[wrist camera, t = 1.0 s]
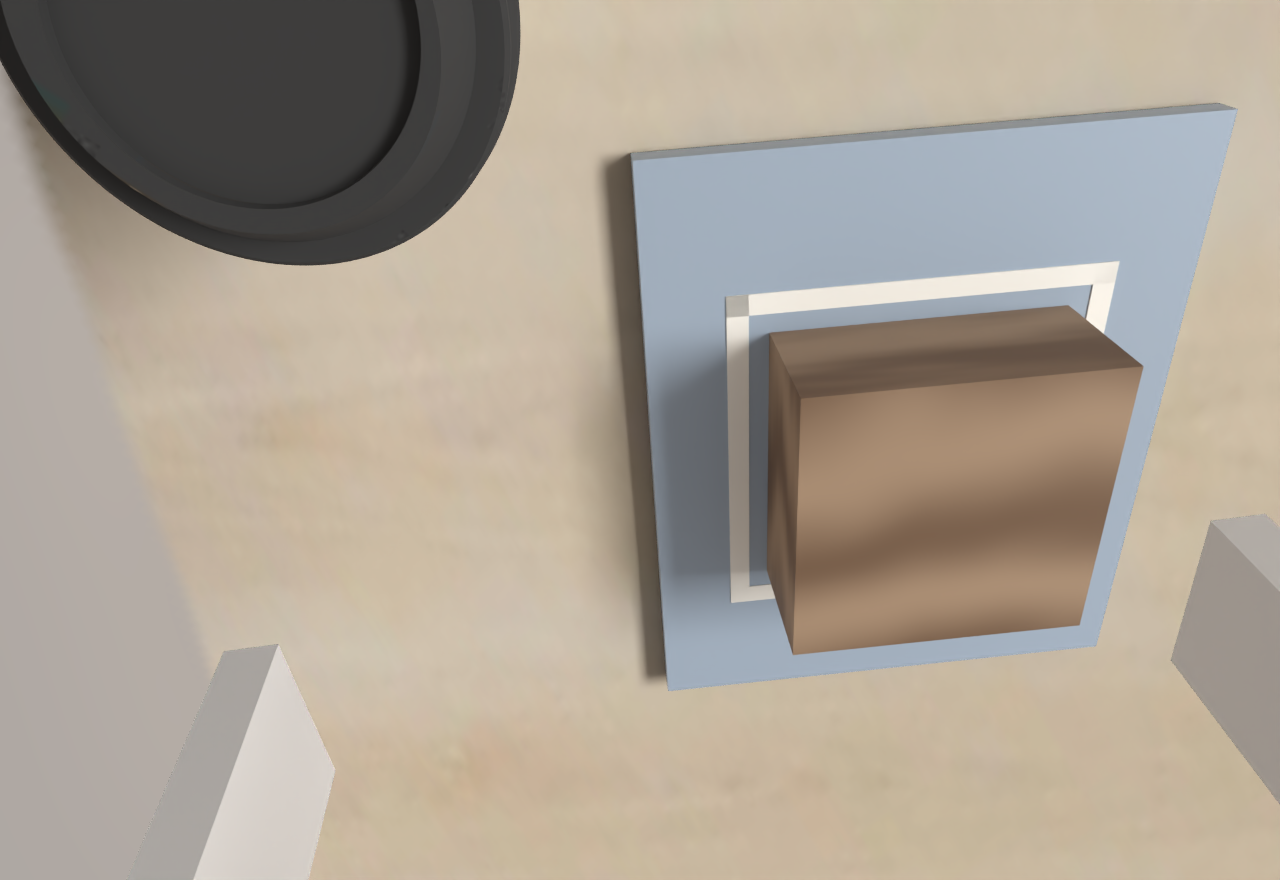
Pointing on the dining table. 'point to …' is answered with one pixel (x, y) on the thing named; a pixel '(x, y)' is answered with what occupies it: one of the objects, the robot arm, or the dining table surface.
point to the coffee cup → (272, 112)
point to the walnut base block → (940, 474)
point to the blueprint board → (883, 292)
